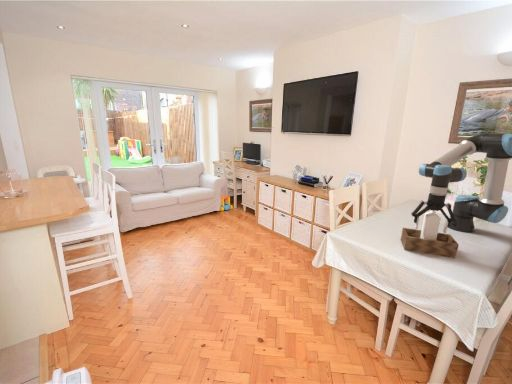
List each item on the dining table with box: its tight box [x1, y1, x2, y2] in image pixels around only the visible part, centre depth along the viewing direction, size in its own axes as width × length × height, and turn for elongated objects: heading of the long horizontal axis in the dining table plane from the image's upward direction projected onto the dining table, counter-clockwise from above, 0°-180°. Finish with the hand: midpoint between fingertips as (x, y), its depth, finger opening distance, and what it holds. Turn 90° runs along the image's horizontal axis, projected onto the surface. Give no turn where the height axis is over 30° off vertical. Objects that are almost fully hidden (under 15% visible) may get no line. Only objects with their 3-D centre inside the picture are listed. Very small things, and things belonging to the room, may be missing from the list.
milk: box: [420, 210, 441, 241], centre depth 142 cm, size 6×6×22 cm
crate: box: [400, 227, 460, 259], centre depth 144 cm, size 24×14×8 cm, turn 68°
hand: (429, 230), depth 142 cm, fingers open, 13 cm apart
